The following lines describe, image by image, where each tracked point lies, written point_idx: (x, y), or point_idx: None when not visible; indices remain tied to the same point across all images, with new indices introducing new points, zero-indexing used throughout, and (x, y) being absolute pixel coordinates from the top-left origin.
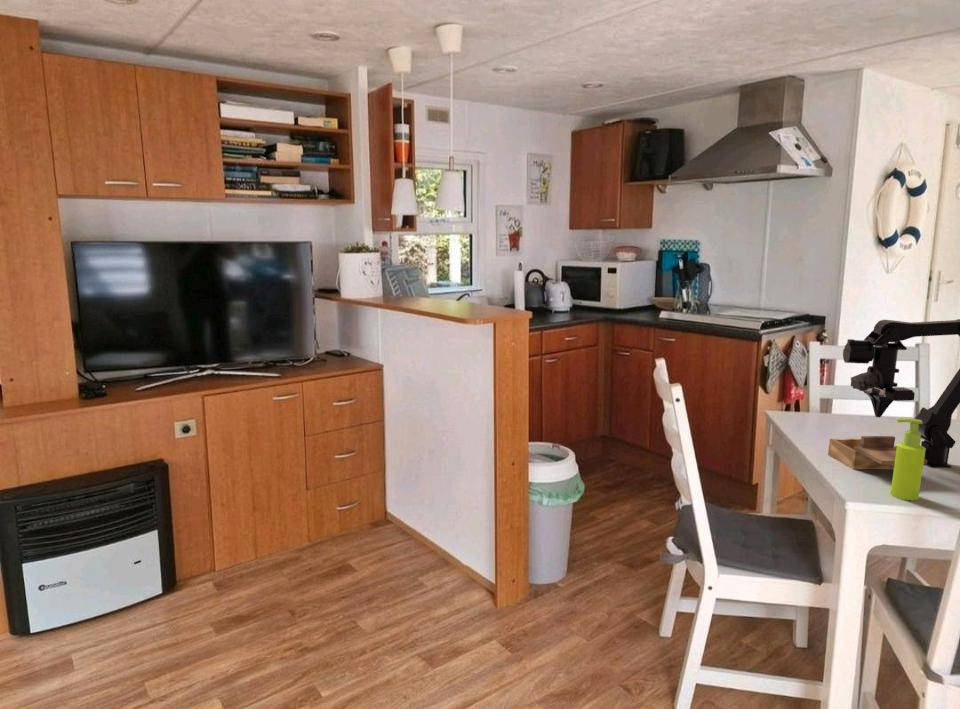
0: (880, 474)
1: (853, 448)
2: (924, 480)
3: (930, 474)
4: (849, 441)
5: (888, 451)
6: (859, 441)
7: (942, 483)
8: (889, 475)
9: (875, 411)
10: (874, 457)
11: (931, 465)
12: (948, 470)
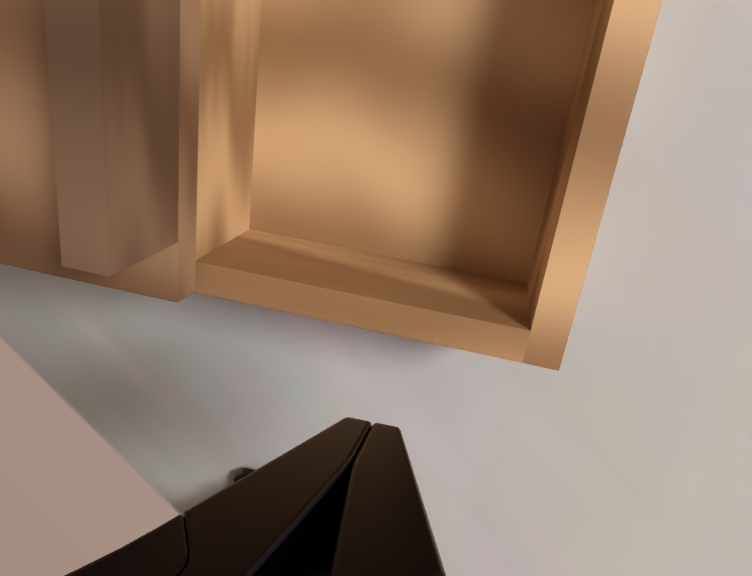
0: None
1: (568, 136)
2: None
3: (137, 362)
4: (591, 81)
5: (23, 70)
6: (560, 205)
7: (5, 297)
8: None
9: (362, 468)
10: None
11: (237, 479)
12: None
